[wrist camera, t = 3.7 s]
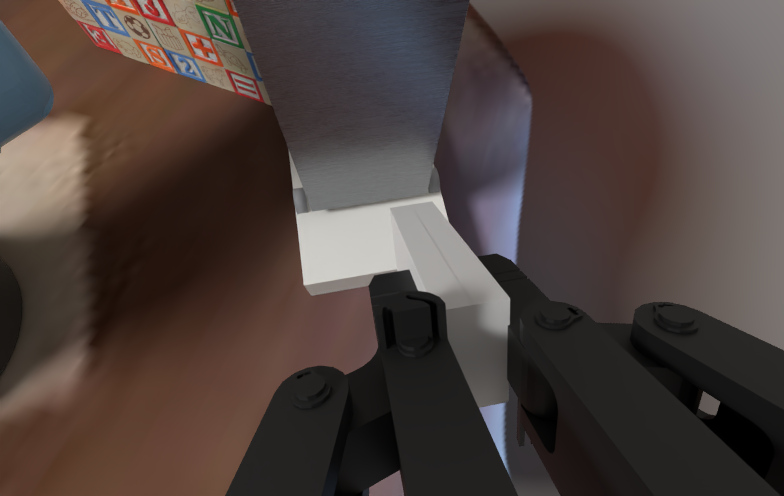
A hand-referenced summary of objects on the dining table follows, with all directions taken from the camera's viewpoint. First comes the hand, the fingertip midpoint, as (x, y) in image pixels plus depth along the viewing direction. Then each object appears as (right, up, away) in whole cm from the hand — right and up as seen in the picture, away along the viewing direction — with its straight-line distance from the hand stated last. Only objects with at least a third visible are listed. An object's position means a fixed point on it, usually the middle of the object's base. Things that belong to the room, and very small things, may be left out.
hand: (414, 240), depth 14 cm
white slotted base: (-3, +4, +19) cm, 20 cm away
